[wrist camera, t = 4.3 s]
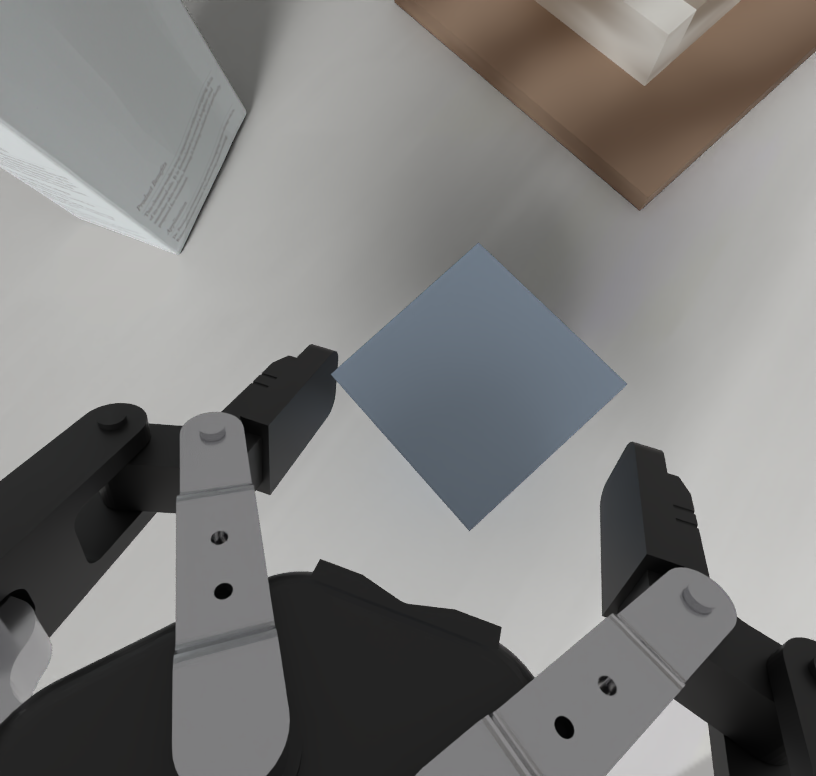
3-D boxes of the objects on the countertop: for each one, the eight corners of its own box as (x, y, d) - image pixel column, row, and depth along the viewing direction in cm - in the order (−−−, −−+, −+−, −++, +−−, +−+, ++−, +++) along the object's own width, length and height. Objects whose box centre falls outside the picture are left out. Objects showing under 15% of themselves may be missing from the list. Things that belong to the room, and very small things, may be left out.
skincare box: (154, 85, 25) (-264, -459, 11) (257, 116, 24) (-47, -435, 10) (77, 229, 24) (-510, -158, 9) (182, 268, 23) (-291, -97, 8)
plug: (397, 430, 21) (330, 374, 10) (468, 366, 21) (478, 242, 10) (464, 504, 20) (469, 531, 9) (536, 436, 20) (627, 384, 9)
